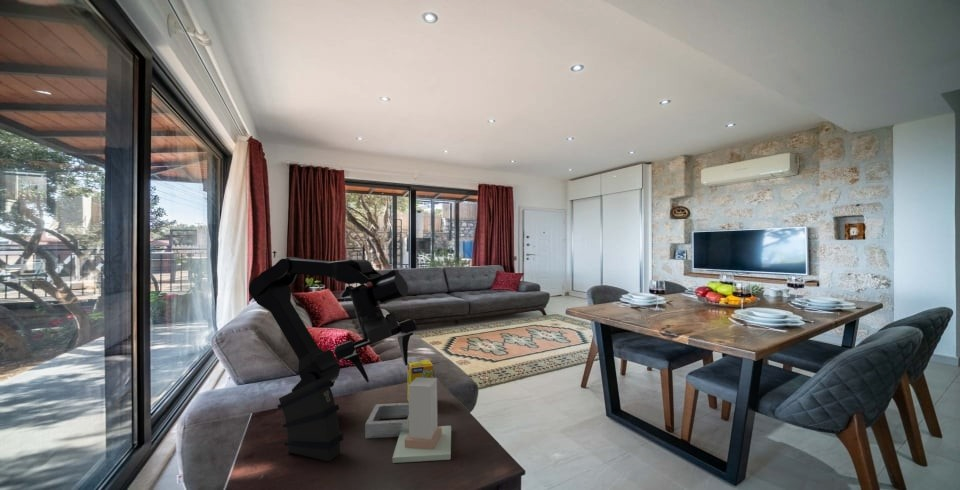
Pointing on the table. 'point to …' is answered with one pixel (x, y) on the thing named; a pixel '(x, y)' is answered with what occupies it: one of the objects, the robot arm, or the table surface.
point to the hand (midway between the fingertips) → (387, 373)
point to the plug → (423, 414)
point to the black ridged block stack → (312, 421)
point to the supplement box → (418, 371)
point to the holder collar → (387, 428)
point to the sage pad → (417, 454)
